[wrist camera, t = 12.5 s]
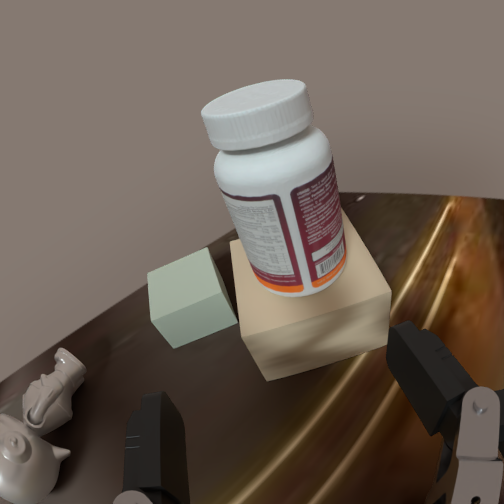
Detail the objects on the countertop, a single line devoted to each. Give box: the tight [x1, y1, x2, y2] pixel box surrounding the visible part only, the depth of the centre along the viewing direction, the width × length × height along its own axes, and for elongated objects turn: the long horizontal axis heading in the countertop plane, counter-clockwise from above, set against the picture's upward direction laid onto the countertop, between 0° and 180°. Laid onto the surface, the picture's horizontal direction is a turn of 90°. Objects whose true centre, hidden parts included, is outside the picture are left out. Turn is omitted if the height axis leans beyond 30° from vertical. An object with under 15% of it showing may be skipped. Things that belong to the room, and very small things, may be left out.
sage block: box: [147, 248, 238, 348], centre depth 28 cm, size 6×6×4 cm
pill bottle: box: [201, 79, 347, 297], centre depth 18 cm, size 6×6×11 cm
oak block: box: [230, 208, 391, 381], centre depth 23 cm, size 9×9×6 cm
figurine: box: [0, 348, 87, 504], centre depth 19 cm, size 11×7×15 cm
